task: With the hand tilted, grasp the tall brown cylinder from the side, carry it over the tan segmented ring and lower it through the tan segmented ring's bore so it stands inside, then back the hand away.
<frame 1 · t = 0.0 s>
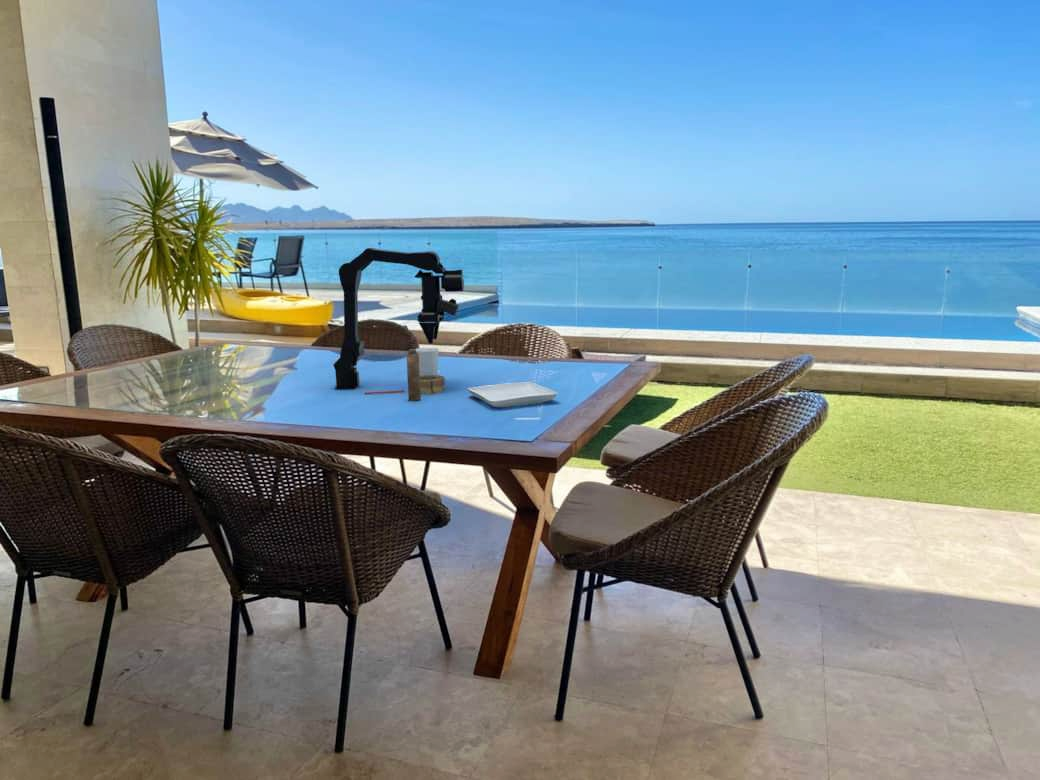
hand: (433, 341, 245), 15 cm above the table, tool pointing down, fingers open, 9 cm apart
white cup: (427, 379, 262), on the table
tan segmented ring: (427, 390, 242), on the table
tall brown cylinder: (414, 399, 230), on the table
brick-red rectangular plank: (384, 392, 240), on the table
salad plate: (511, 401, 228), on the table
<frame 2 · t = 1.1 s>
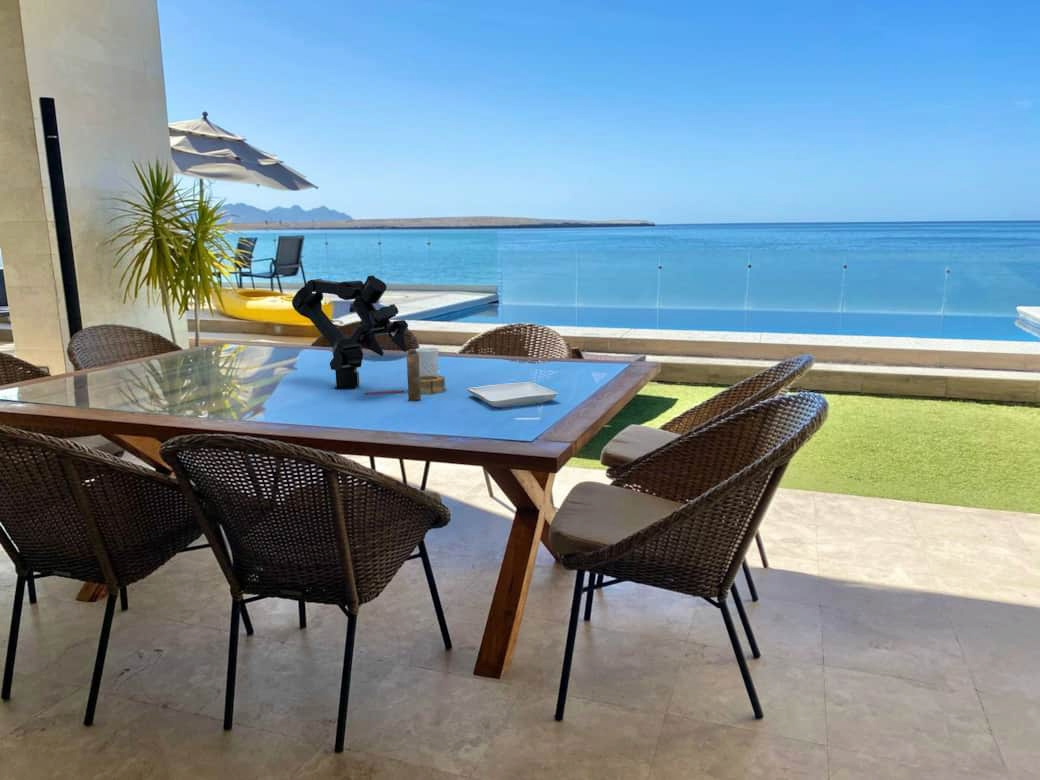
hand: (394, 352, 232), 13 cm above the table, tool tilted 45°, fingers open, 9 cm apart
nothing on the table moved.
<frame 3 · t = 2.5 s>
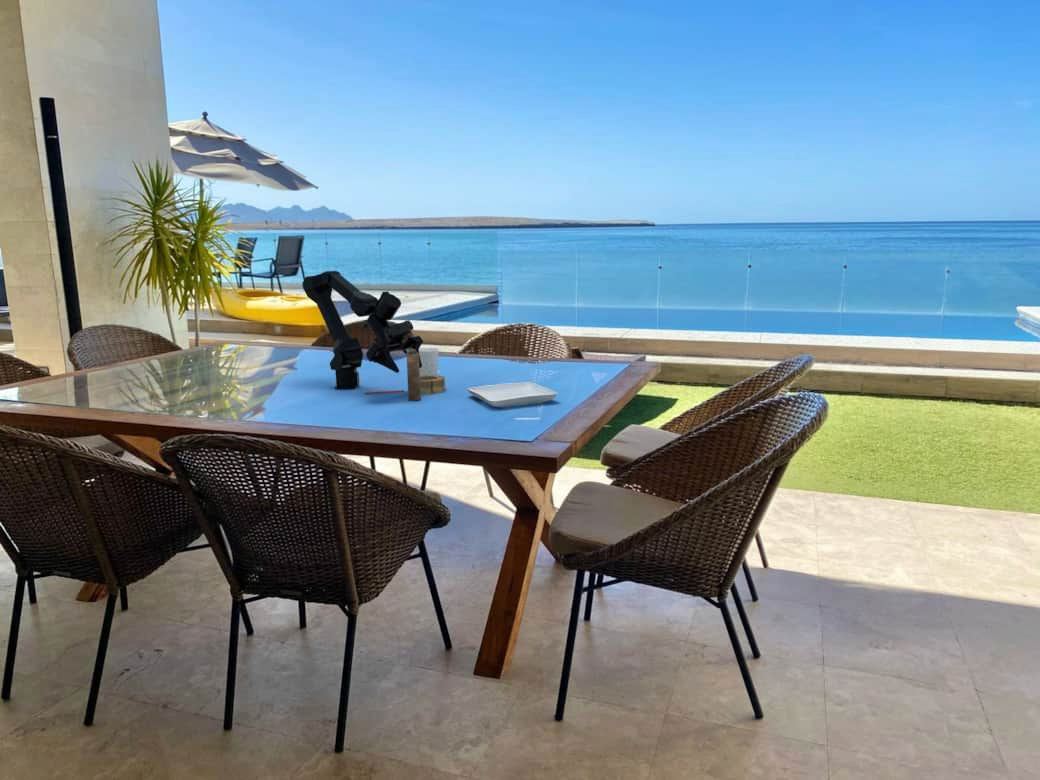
hand: (409, 369, 229), 9 cm above the table, tool tilted 45°, fingers open, 9 cm apart
nothing on the table moved.
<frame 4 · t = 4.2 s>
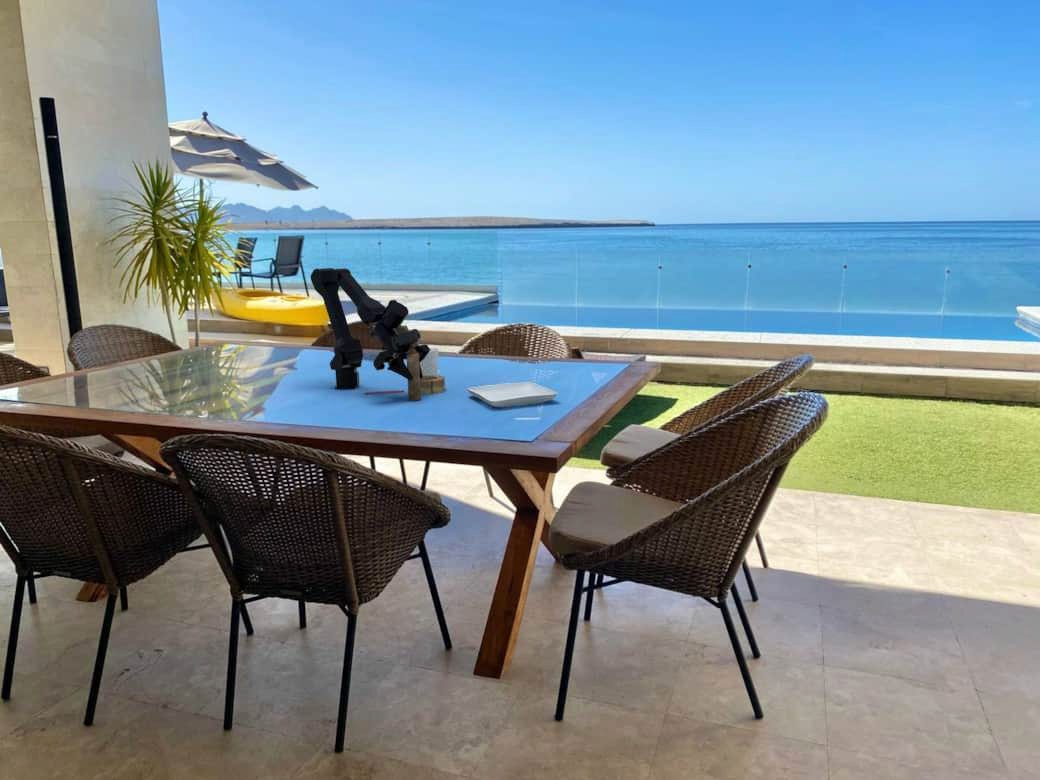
hand: (416, 378, 227), 7 cm above the table, tool tilted 45°, fingers closed on tall brown cylinder, 4 cm apart
tall brown cylinder: (414, 399, 230), on the table, touching gripper
everything else where it was.
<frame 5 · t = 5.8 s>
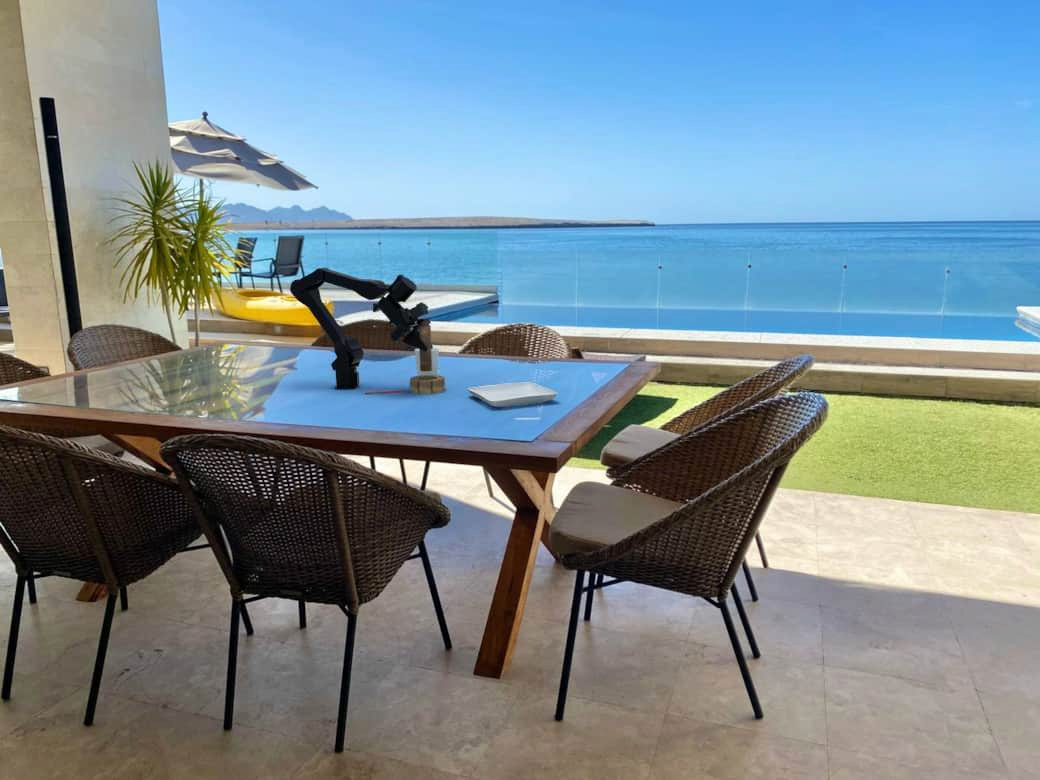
hand: (429, 349, 238), 13 cm above the table, tool tilted 45°, fingers closed on tall brown cylinder, 4 cm apart
tall brown cylinder: (426, 370, 239), point 7 cm above the table, touching gripper
everything else where it was.
when the fingers open (8 cm above the table, at t = 7.5 s): tall brown cylinder drops 1 cm, resting in tan segmented ring.
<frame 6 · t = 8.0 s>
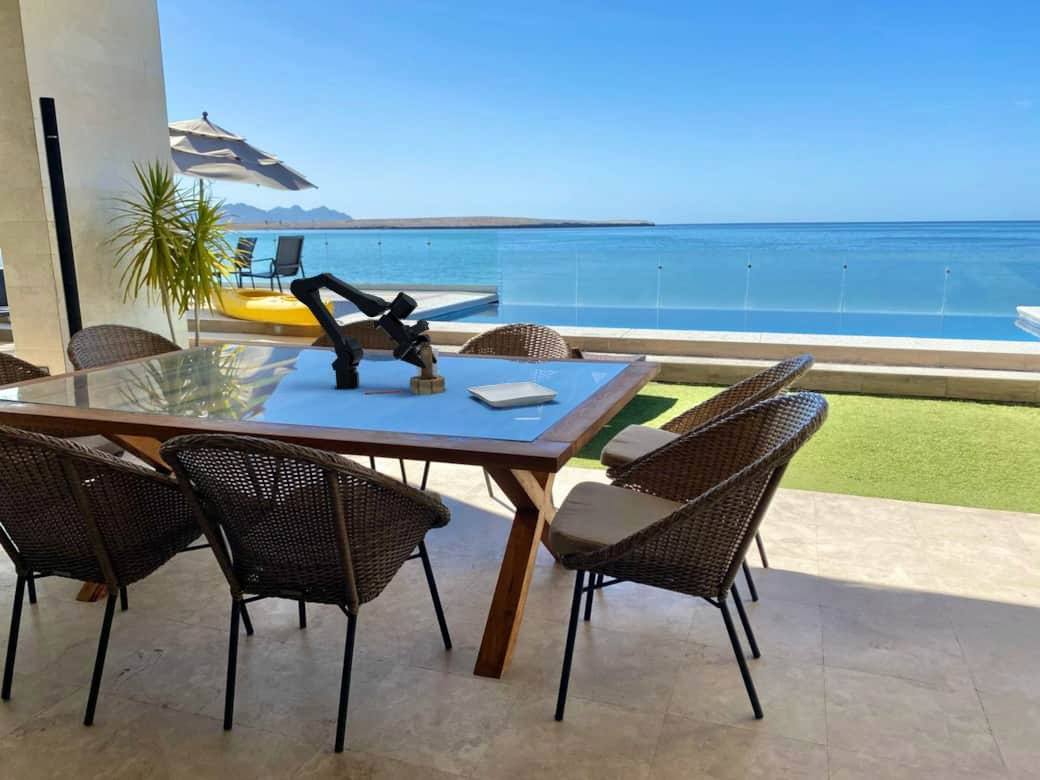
hand: (430, 365, 240), 8 cm above the table, tool tilted 45°, fingers open, 9 cm apart
tall brown cylinder: (427, 390, 242), resting in tan segmented ring
everything else where it was.
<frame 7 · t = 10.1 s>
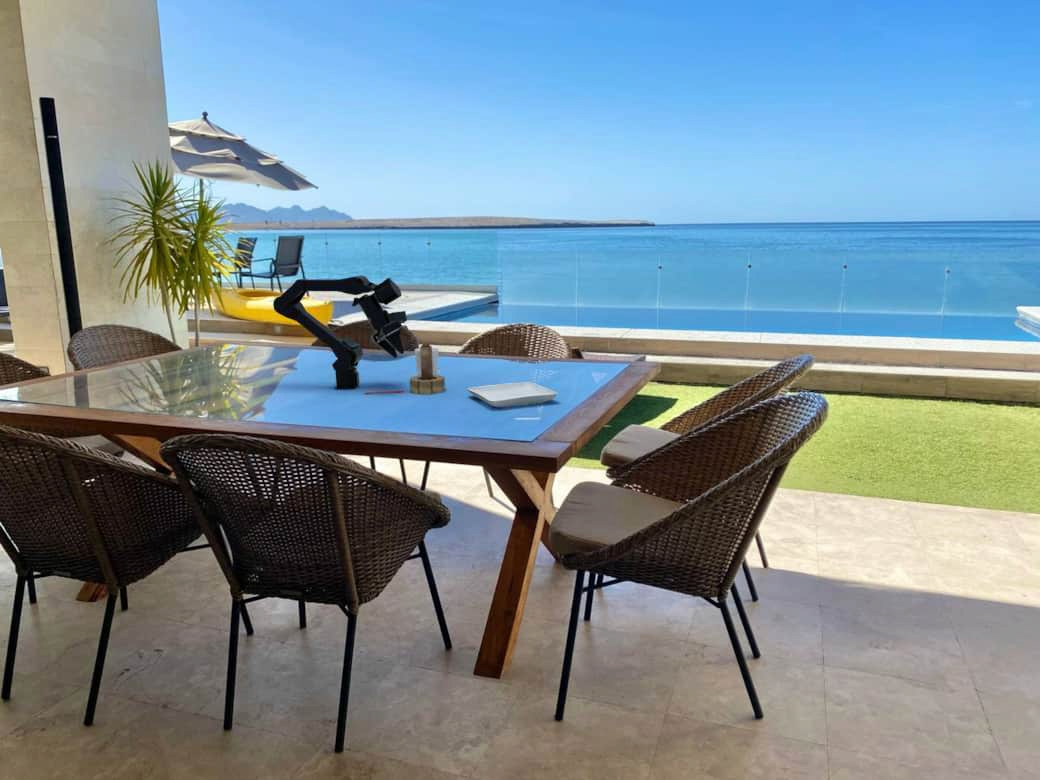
hand: (399, 355, 244), 11 cm above the table, tool tilted 30°, fingers open, 9 cm apart
nothing on the table moved.
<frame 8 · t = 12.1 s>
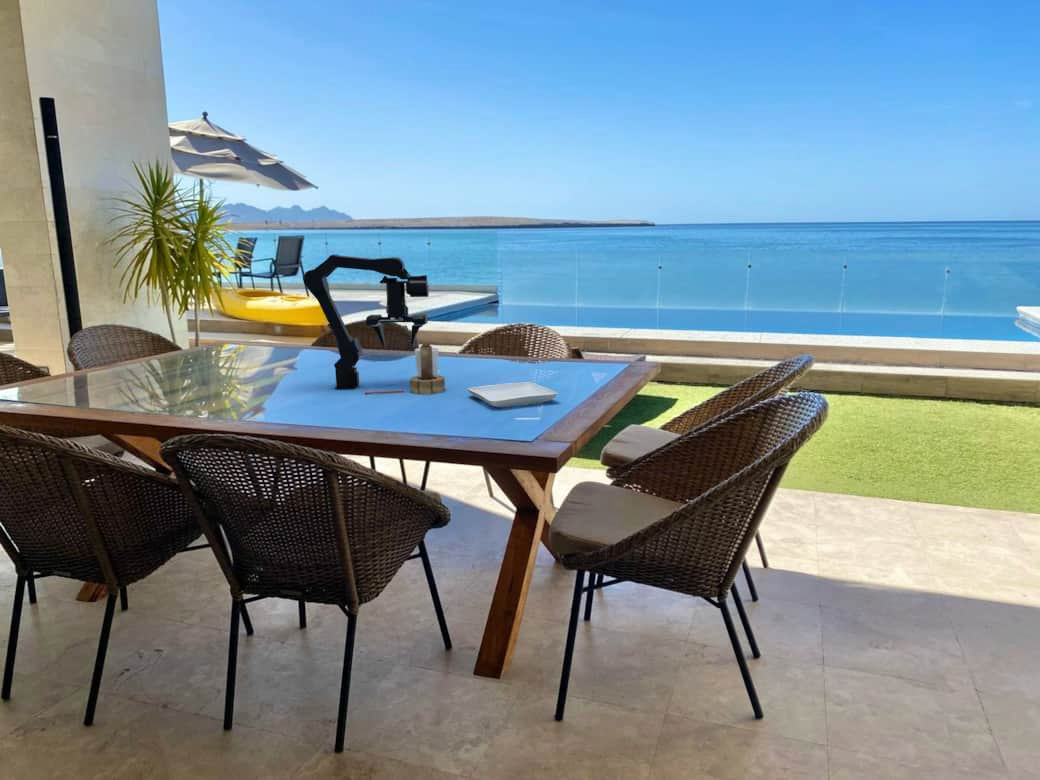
hand: (398, 346, 247), 13 cm above the table, tool pointing down, fingers open, 9 cm apart
nothing on the table moved.
at the end: tall brown cylinder 0.0 cm off-centre on the tan segmented ring, point 0.0 cm above the tan segmented ring's base; tall brown cylinder tilted 0°; the gripper is holding nothing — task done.
